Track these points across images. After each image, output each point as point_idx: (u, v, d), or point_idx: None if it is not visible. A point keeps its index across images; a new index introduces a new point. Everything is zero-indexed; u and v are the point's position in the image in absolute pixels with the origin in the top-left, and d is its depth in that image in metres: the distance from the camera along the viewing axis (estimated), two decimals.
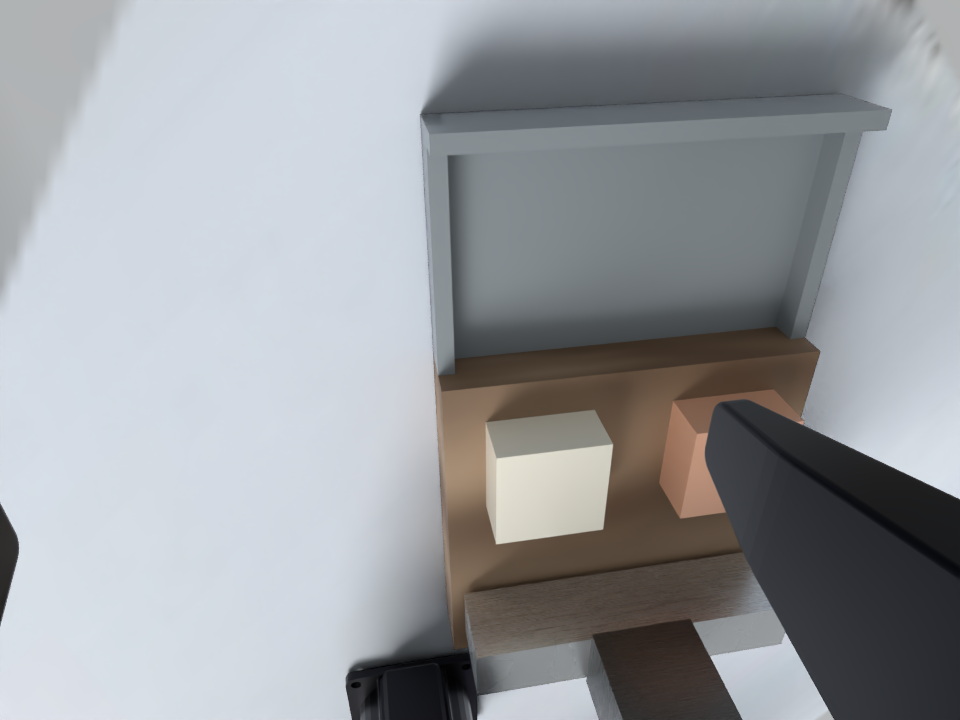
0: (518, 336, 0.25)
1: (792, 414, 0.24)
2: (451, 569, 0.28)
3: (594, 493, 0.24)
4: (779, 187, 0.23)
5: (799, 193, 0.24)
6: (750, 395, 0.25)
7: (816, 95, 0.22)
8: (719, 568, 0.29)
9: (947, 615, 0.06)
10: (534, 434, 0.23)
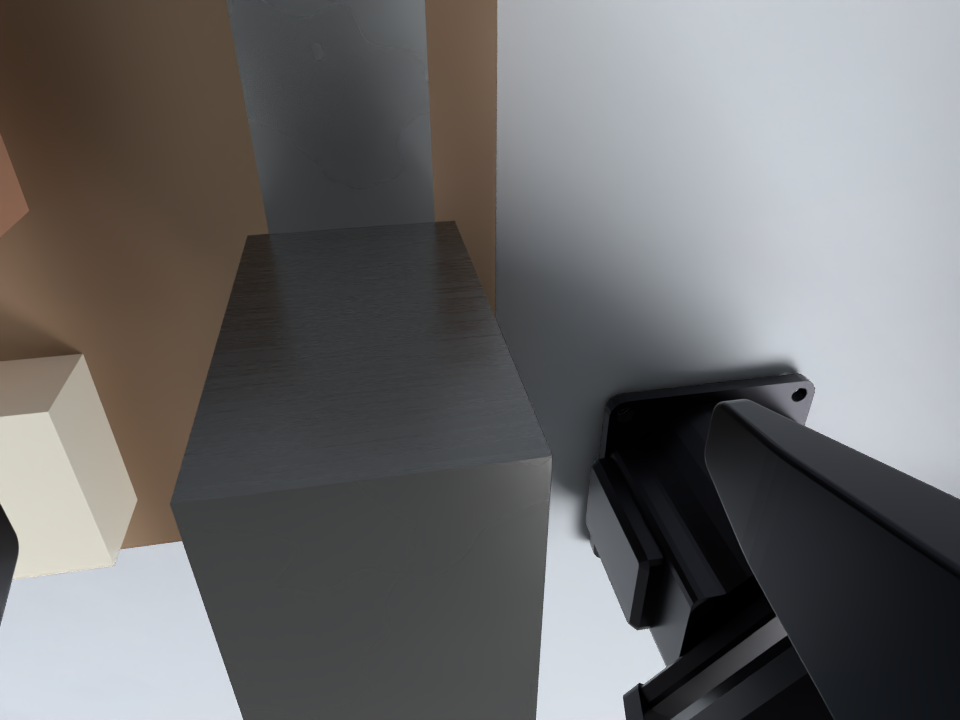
0: None
1: None
2: None
3: None
4: None
5: None
6: None
7: None
8: None
9: (947, 615, 0.06)
10: None
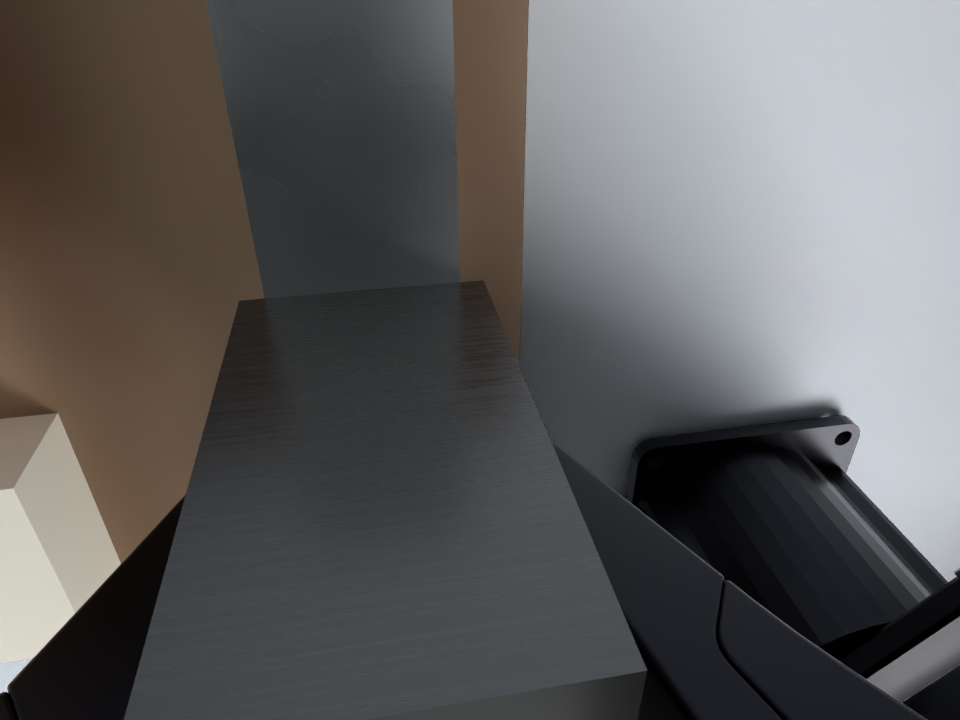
0: None
1: None
2: None
3: None
4: None
5: None
6: None
7: None
8: None
9: None
10: None
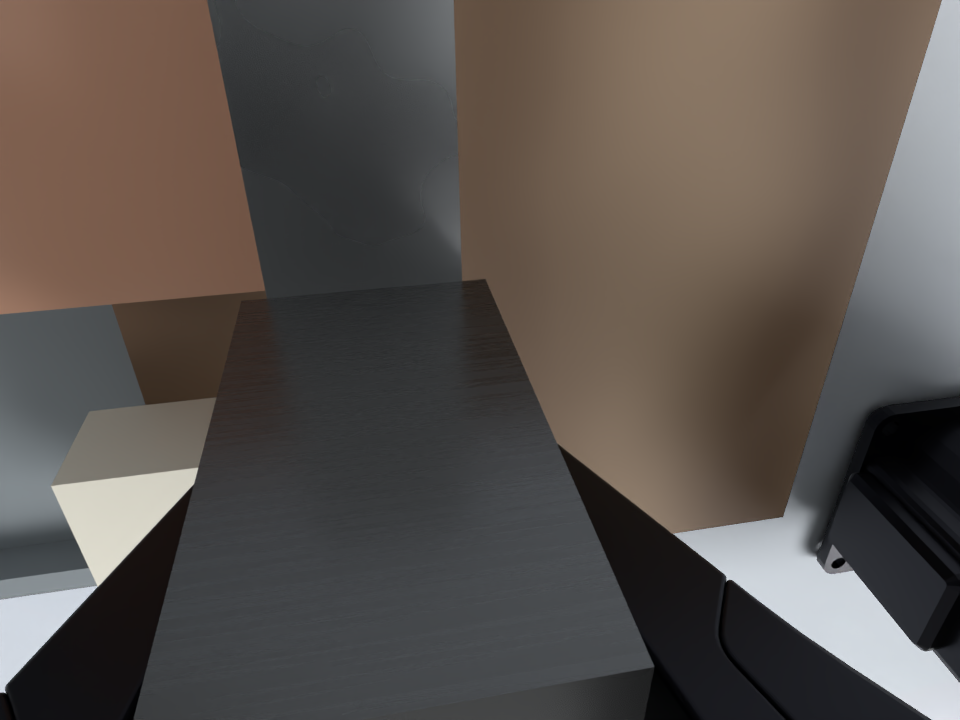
0: None
1: None
2: None
3: None
4: None
5: None
6: None
7: None
8: None
9: None
10: None
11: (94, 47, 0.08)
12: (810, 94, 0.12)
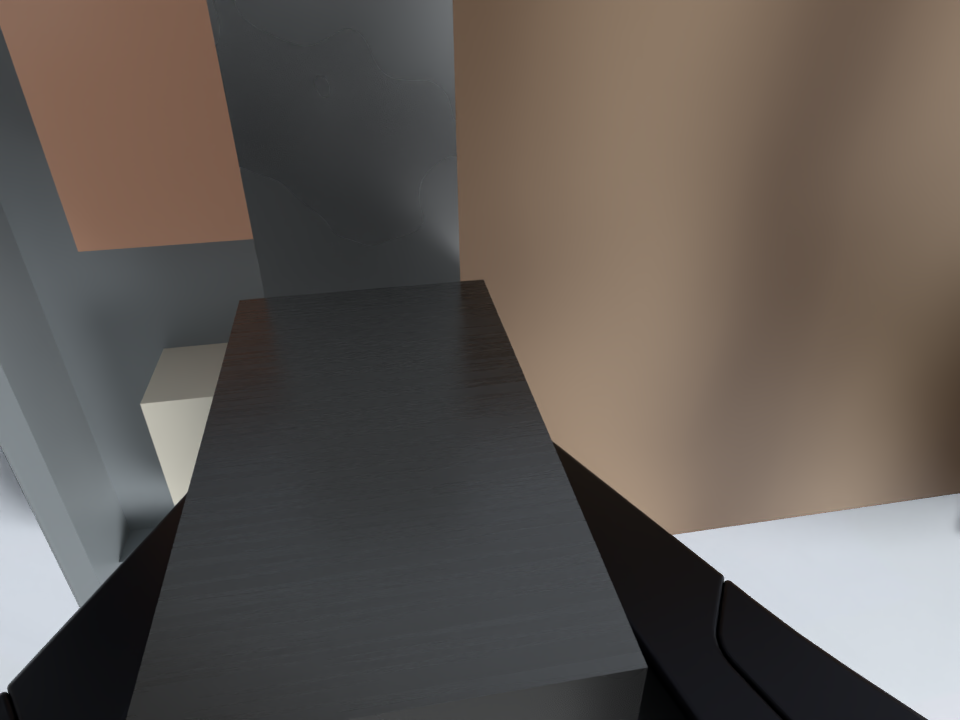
0: None
1: None
2: (804, 514, 0.17)
3: None
4: None
5: None
6: None
7: None
8: None
9: None
10: None
11: (193, 24, 0.10)
12: None
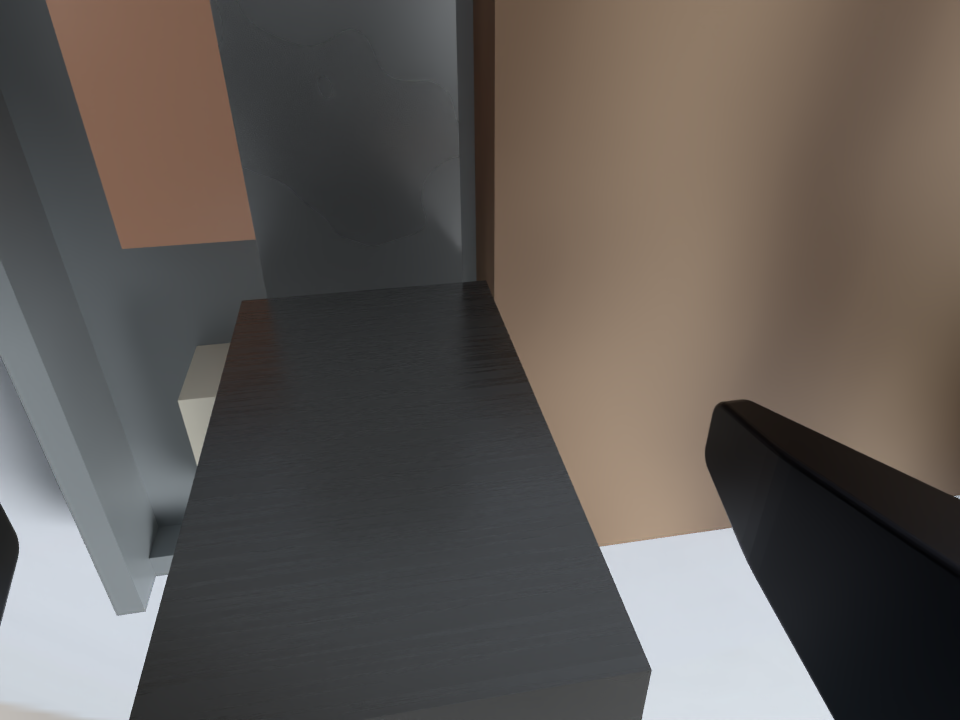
0: None
1: None
2: None
3: None
4: None
5: None
6: None
7: None
8: None
9: (947, 615, 0.06)
10: None
11: None
12: None
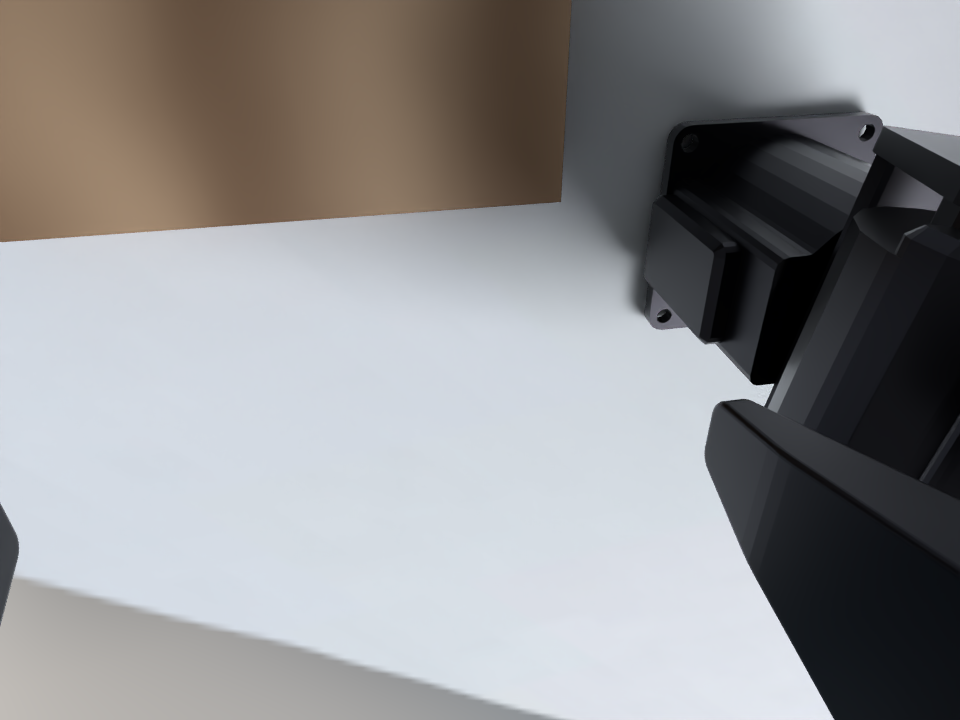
0: None
1: None
2: (353, 214, 0.17)
3: None
4: None
5: None
6: None
7: None
8: None
9: (947, 615, 0.06)
10: None
11: None
12: None
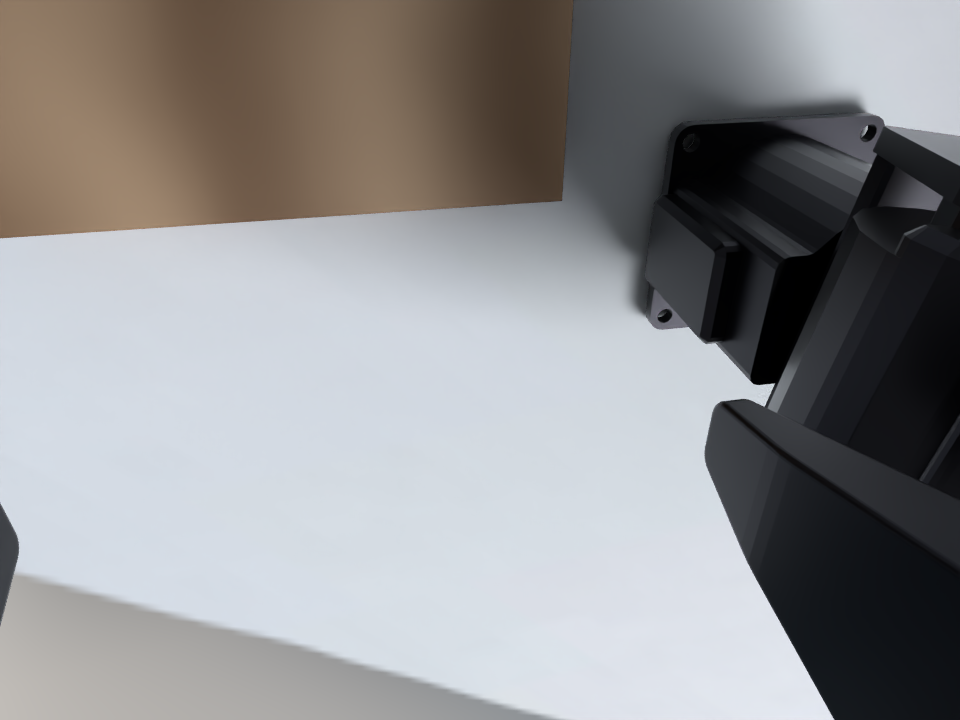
0: None
1: None
2: (354, 212, 0.17)
3: None
4: None
5: None
6: None
7: None
8: None
9: (947, 614, 0.06)
10: None
11: None
12: None
